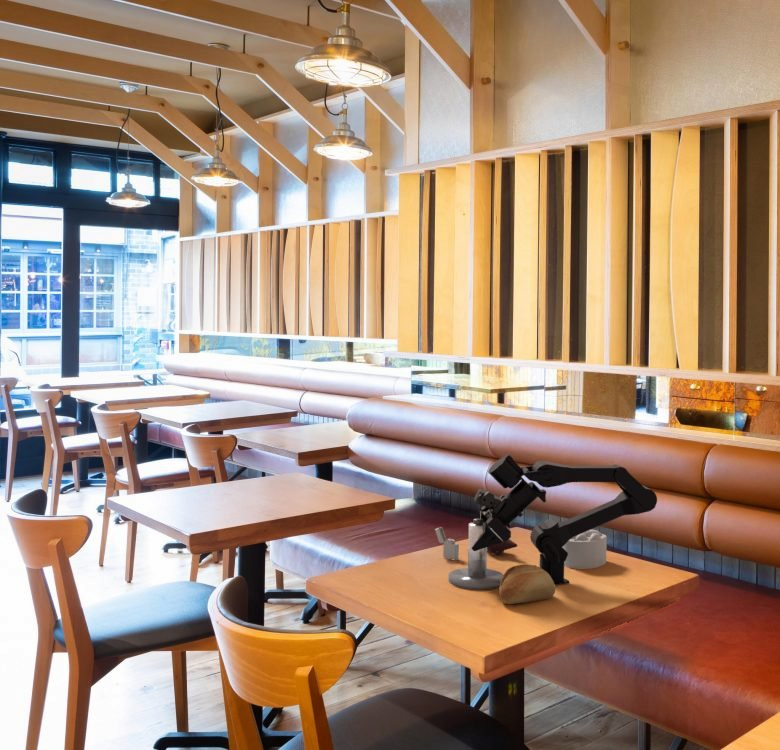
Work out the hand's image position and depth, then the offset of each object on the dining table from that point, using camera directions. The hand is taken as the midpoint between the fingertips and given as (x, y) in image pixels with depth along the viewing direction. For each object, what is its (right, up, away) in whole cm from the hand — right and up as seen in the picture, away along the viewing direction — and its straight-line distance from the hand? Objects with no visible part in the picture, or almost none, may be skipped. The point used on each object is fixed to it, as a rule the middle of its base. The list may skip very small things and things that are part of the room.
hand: (471, 544), depth 202 cm
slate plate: (+1, -9, 0) cm, 9 cm away
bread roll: (+11, -10, -14) cm, 20 cm away
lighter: (-5, -8, +21) cm, 23 cm away
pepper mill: (+1, -8, 0) cm, 8 cm away
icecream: (+10, -8, +25) cm, 28 cm away
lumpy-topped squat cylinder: (+31, -9, +17) cm, 37 cm away
